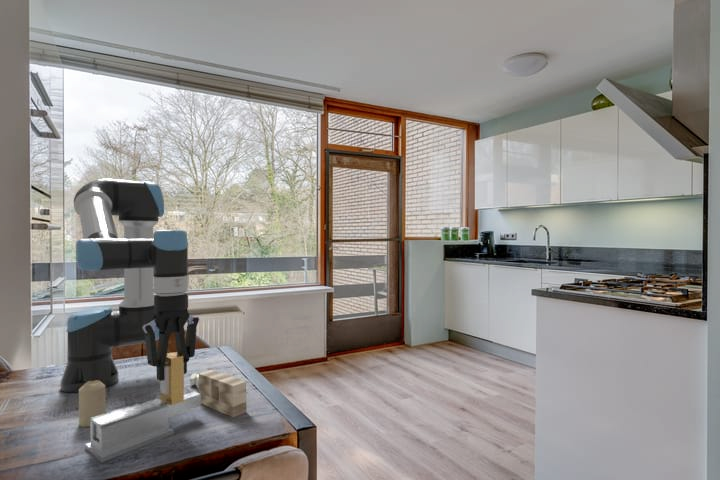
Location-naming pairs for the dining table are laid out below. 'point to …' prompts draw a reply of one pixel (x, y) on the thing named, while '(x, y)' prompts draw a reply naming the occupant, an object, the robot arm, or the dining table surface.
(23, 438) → the dining table surface
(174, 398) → the tube
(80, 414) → the candle
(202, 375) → the socket block
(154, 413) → the sleeve
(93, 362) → the robot arm
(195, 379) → the pipe fitting
